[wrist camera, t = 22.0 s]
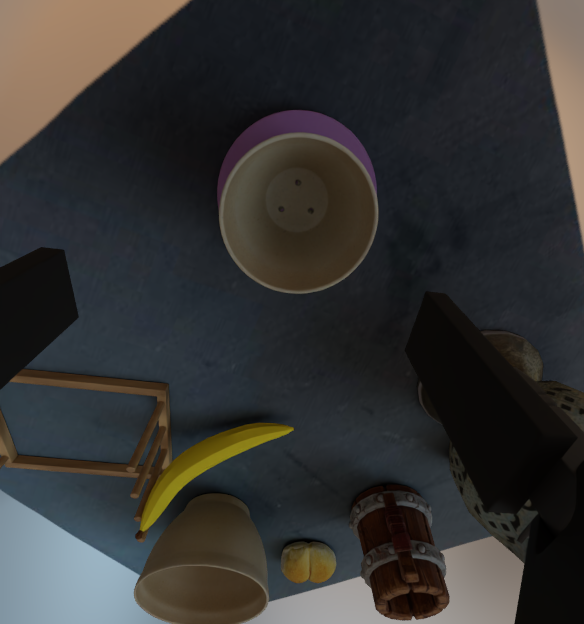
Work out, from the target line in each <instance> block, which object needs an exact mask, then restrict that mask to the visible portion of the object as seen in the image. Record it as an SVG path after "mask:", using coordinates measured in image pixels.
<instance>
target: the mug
mask: <svg viewBox="0 0 584 624" xmlns="http://www.w3.org/2000/svg"><path fill="white" fill-rule="evenodd" d="M350 520H351V521H350V522H349V527H350V528H351V529H353V533H354V534H355V535H356V536H357V537H358V538H359V539H360V542H361V546H362V550H363V554H364V558H363V560H362V563H361V566H362V571H361V573H360V575H361V577H362V578H364V579H365V583H366V584H367V585H368V586H369V587H370V588H371V589H372V593H373V598H374V602H375V607H376V610H377V611H379V613H381V614H382V615H384V616H385V617H388V618H390V619H396V620H411V619H412V616H414V617H415V618H416V619H417V620H418V619H424V618H428V617H430V616H433V615H436V614H438V613H440V612H441V611H442V610H443V609H445V608H446V607H447V605H448V604H449V594H448V590H447V587H446V584H445V580H444V577H445V575H446V565H445V562H444V560H445V558H444V555H443V554H442V553H441V552H440V551H439V550H438V548H437V547H435V545H434V541H433V537H432V534H431V530H430V527H431V525H432V515H431V506H430V505H428V504H427V503H426V501H425V500H424V499H423V498H422V497H421V495H420V494H419V493H417V491H415V490H413V489H411V488H410V487H407V486H402V485H397V484H394V485H386V488H384V487H383V486H382V485H381V486H377V487H373V488H371V489H369V490H367V491H365V492H363V493H361V494H360V495H359V496H358V497H357V498H356V501H354V503H353V506H352V512H351V514H350Z"/></svg>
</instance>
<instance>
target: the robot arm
mask: <svg viewBox="0 0 584 624" xmlns="http://www.w3.org/2000/svg"><path fill="white" fill-rule="evenodd" d="M77 318H79V316H78V312H77V307H76V302H75V298H74V293H73V289H72V284H71V279H70V275H69V270H68V266H67V261H66V256H65V252H64V250H61V249H53V248H44V247H41V248H39V249H37V250H35V251H33V252H31V253H29V254H27V255H25V256H23V257H21V258H19V259H17V260H15V261H13V262H11V263H9V264H7V265H5V266H3V267H1V268H0V389H2V388H3V387H4V386H5V385H6V384H7V383H8V382H9V381H10V380H11V379H12V378H13V377H15V376H16V375H17V374H18V373H19V372H20V371H21V370H22V369H23V368H24V367H25V366H26V365H28V364H29V363H30V362H31V361H32V360H33V359H34V358H35V357H36V356H37V355H38V354H39V353H41V352H42V351H43V350H44V349H45V348H46V347H47V346H48V345H49V344H50V343H51V342H53V341H54V340H55V339H56V338H57V337H58V336H59V335H60V334H61V333H62V332H63V331H64V330H66V329H67V328H68V327H69V326H70V325H71V324H72V323H73V322H74V321H75V320H76V319H77ZM405 352H406V354H407V356H408V358H409V360H410V362H411V364H412V366H413V368H414V370H415V372H416V374H417V376H418V378H419V380H420V381H421V383H422V385H423V387H424V389H425V391H426V393H427V395H428V397H429V399H430V401H431V403H432V405H433V407H434V409H435V411H436V413H437V415H438V417H439V419H440V421H441V423H442V425H443V427H444V429H445V431H446V432H447V434H448V436H449V438H450V440H451V442H452V444H453V446H454V448H455V450H456V452H457V454H458V456H459V458H460V460H461V462H462V464H463V466H464V468H465V470H466V472H467V474H468V476H469V478H470V480H471V482H472V483H473V485H474V487H475V489H476V491H477V493H478V495H479V497H480V499H481V501H482V503H483V505H484V507H485V509H486V511H487V512H494V513H509V514H517V513H518V512H519V511H520V509H521V508H522V507H523V506H524V504H525V503H526V502H527V501H528V499H530V501H531V503H532V504H533V506H534V507H535V509H536V510H537V512H538V514H537V515H536V516H535V517H534V519H533V520H532V521H531V522H530V523H529V524H528V526H527V527H526V528H525V529H524V530H523V531H522V533H521V534H520V535H519V537H518V539H517V541H518V542H520V543H521V544H522V543H523V542H524V540H525V539H526V538H529V540H528V546H527V552H526V558H525V564H524V570H523V576H522V582H521V588H520V594H519V600H518V606H517V612H516V618H515V624H584V432H583V431H582V430H581V429H580V427H579V426H578V425H577V424H576V423H575V422H574V421H573V420H572V419H571V418H570V417H569V416H568V415H567V414H566V413H565V412H564V411H563V410H562V409H561V408H560V407H557V403H556V402H555V401H554V400H553V399H552V398H551V397H550V396H549V395H546V392H545V391H544V390H543V389H542V388H541V387H540V386H539V385H538V384H537V382H536V381H535V380H534V379H532V378H531V377H529V376H528V375H526V374H525V373H524V372H522V371H521V370H519V369H518V368H516V367H513V366H512V365H511V364H510V363H509V362H508V361H507V360H506V359H505V358H504V357H503V356H502V354H501V353H500V352H499V351H498V350H497V349H496V348H495V347H494V346H493V345H492V344H491V342H490V341H489V340H488V339H487V338H486V337H485V336H484V335H483V334H482V333H481V332H480V331H479V329H478V328H477V327H476V326H475V325H474V324H473V323H472V322H471V321H470V320H469V319H468V317H467V316H466V315H465V314H464V313H463V312H462V311H461V310H460V309H459V308H458V307H457V306H456V304H455V303H454V302H453V301H452V300H451V299H450V298H449V297H448V296H447V295H446V294H444V293H435V292H427V291H426V293H425V296H424V298H423V301H422V304H421V307H420V310H419V312H418V315H417V318H416V321H415V323H414V326H413V329H412V332H411V334H410V337H409V340H408V343H407V345H406V348H405Z"/></svg>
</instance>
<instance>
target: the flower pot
mask: <svg viewBox="0 0 584 624" xmlns="http://www.w3.org/2000/svg"><path fill="white" fill-rule="evenodd" d="M296 180H297V181H298V183H297V185H296ZM310 208H312V209H313V210H310ZM281 209H284V210H283V211H282V212H281V211H280V210H281ZM219 223H220V229H221V234H222V238H223V241H224V243H225V246H226V248H227V250H228V252H229V254H230V256H231V257H232V259H233V260H234V261H235V263H236V264H237V265H238V267H239V268H240V269H241V270H242V271H243V272H244V273H245V274H246V275H248V276H249V277H250V278H252V279H253V280H254V281H256V282H258V283H259V284H261V285H263V286H265V287H267V288H270V289H273V290H276V291H280V292H285V293H295V294H302V293H311V292H316V291H320V290H323V289H326V288H328V287H331V286H333V285H335V284H336V283H338V282H340V281H341V280H343V279H344V278H346V277H347V276H348V275H349V274H351V273H352V272H353V271H354V270H355V269H356V268H357V267H358V265H359V264H360V263H361V262H362V260H363V259H364V258H365V256H366V254H367V253H368V251H369V249H370V247H371V245H372V242H373V240H374V236H375V233H376V229H377V223H378V200H377V195H376V191H375V188H374V185H373V182H372V180H371V177H370V175H369V174H368V172H367V170H366V168H365V167H364V165H363V164H362V163H361V161H360V160H359V159H358V158H357V157H356V156H355V155H354V154H353V153H352V152H351V151H350V150H349V149H347V148H346V147H344V146H343V145H341V144H340V143H338V142H336V141H335V140H332V139H330V138H327V137H325V136H321V135H318V134H313V133H305V132H294V133H286V134H282V135H278V136H274V137H272V138H269V139H267V140H265V141H263V142H261V143H259V144H258V145H256V146H255V147H253V148H252V149H250V150H249V151H248V152H247V153H246V154H245V155H244V156H243V157H242V158H241V159H240V160H239V161H238V162H237V163H236V165H235V166H234V168H233V169H232V171H231V172H230V174H229V176H228V178H227V180H226V183H225V185H224V187H223V190H222V194H221V198H220V205H219Z"/></svg>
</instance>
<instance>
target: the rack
mask: <svg viewBox="0 0 584 624" xmlns="http://www.w3.org/2000/svg"><path fill="white" fill-rule="evenodd" d="M9 382H19V383H29V384H39V385H48V386H58V387H68V388H78V389H88V390H98V391H108V392H118V393H128V394H138V395H148V396H157V406H156V408H155V410H154V412H153V414H152V416H151V418H150V420H149V422H148V425H147V427H146V429H145V431H144V433H143V435H142V437H141V439H140V441H139V443H138V445H137V447H136V449H135V451H134V454H133V456H132V458H131V460H130V462H129V464H128V465H127V464H116V463H104V462H92V461H81V460H69V459H57V458H46V457H34V456H22V455H18V454H17V451H16V448H15V446H14V443H13V441H12V438H11V435H10V433H9V430H8V428H7V425H6V422H5V420H4V417H3V415H2V412H1V409H0V454H1V458H0V468H1V467H2V466H3V465H4V464H5V466H6V467H12V468H24V469H36V470H48V471H60V472H72V473H84V474H96V475H108V476H120V477H132V478H138V479H137V481H136V483H135V485H134V488H133V490H132V492H131V495H130V496H131V497H132V498H138V497H139V495H140V492H141V490H142V488H143V485H144V483H145V480H146V479H150V480H149V482H148V485H147V487H146V490H145V492H144V495H143V497H142V500H141V502H140V505H139V507H138V510H137V512H136V515H135V517H134V520H135V521H138V522H139V521H141V519H142V514H143V511H144V508H145V505H146V502H147V500H148V497H149V495H150V493H151V490H152V489H153V487H154V485H155V483H156V481H157V480H158V478H159V477H160V475H161V474H162V473H163V471H164V470H165V469H166V468H167V467H168V466H169V465H170V464H171V462H172V444H171V424H170V404H169V384H164V383H155V382H145V381H135V380H126V379H116V378H106V377H97V376H87V375H77V374H68V373H58V372H48V371H39V370H29V369H22V370H21V371H20V372H19V373H18V374H17V375H16V376H15V377H13V378H12V379H11V380H10V381H9ZM158 419H159V431H158V433H157V435H156V437H155V440H154V442H153V444H152V447H151V449H150V451H149V453H148V456H147V458H146V460H145V463H144V465H143V466H139V465H138V463H139V461H140V459H141V457H142V454H143V452H144V450H145V448H146V446H147V443H148V441H149V439H150V437H151V435H152V432H153V430H154V428H155V426H156V424H157V421H158ZM160 445H161V452H160V455H159V457H158V460H157V462H156V465H155V467H151V466H152V463H153V461H154V458H155V456H156V454H157V451H158V449H159V446H160ZM148 530H149V528H148V529H146V530H145V531H144V532H143V535H142V538H141V539H139V540H138V539H137V541H138V542H144V541H145V538H146V535H147V533H148Z"/></svg>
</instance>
